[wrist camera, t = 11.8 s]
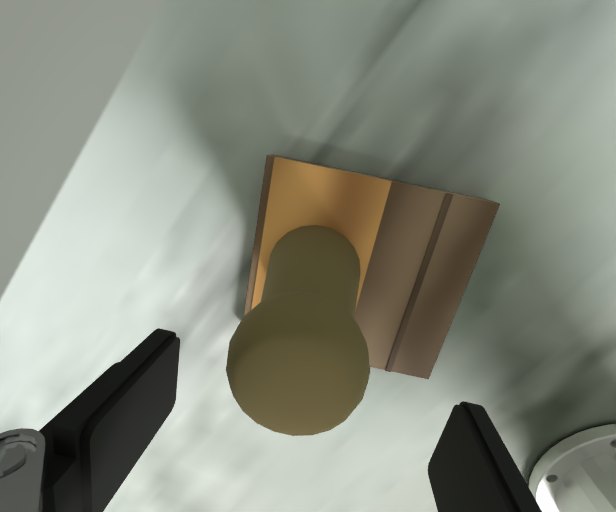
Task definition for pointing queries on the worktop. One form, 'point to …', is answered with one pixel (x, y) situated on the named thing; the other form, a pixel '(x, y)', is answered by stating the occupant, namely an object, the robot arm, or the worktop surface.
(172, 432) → the worktop surface
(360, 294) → the board
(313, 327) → the cork
